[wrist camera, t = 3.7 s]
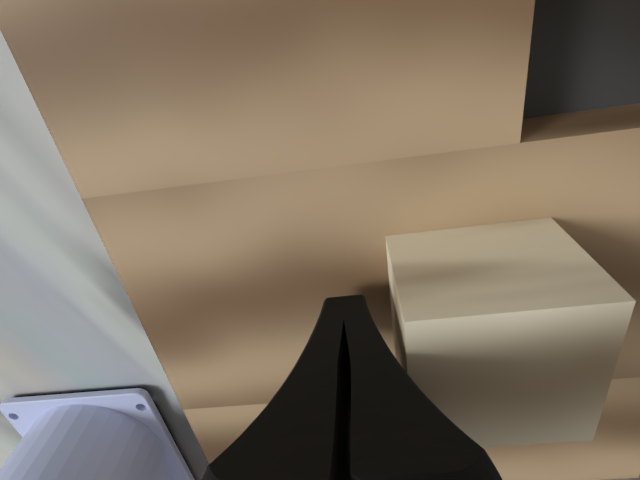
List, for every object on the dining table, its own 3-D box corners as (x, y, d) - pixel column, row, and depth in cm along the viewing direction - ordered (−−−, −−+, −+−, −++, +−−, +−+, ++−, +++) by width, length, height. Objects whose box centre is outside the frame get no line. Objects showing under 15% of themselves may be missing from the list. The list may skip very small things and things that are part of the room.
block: (532, 338, 15) (593, 440, 11) (394, 350, 15) (411, 451, 12) (550, 217, 12) (635, 300, 9) (385, 235, 13) (404, 321, 9)
